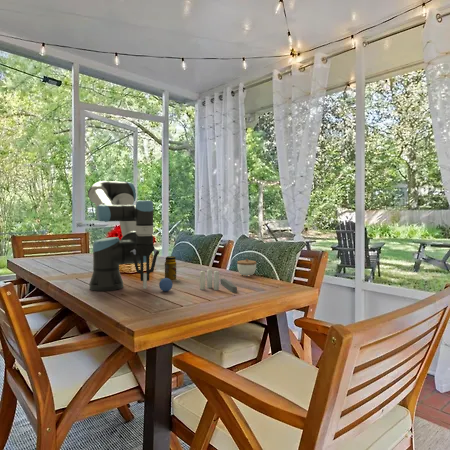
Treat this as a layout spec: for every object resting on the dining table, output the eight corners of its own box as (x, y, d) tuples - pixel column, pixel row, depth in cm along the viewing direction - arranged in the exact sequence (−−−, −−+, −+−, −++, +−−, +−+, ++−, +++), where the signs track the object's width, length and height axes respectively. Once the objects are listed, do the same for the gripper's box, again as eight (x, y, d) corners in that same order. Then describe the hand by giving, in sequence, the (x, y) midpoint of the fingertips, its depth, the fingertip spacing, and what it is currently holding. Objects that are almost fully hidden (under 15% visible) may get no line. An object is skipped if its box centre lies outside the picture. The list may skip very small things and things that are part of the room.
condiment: (179, 280, 196) (179, 257, 196) (164, 281, 192) (164, 258, 191) (173, 277, 203) (173, 255, 202) (158, 279, 198) (158, 256, 197)
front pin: (200, 290, 173) (200, 271, 173) (199, 288, 175) (199, 270, 175) (205, 289, 174) (205, 271, 173) (204, 288, 176) (204, 270, 176)
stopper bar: (232, 292, 168) (232, 287, 168) (220, 283, 187) (220, 278, 187) (236, 292, 169) (236, 287, 169) (224, 283, 188) (224, 278, 188)
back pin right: (214, 290, 172) (214, 272, 172) (213, 289, 175) (213, 271, 174) (219, 290, 173) (219, 271, 173) (218, 289, 175) (218, 271, 175)
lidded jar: (240, 277, 205) (240, 260, 204) (234, 273, 215) (234, 257, 215) (258, 276, 208) (259, 259, 207) (252, 273, 218) (252, 257, 217)
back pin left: (207, 288, 177) (207, 270, 176) (206, 287, 179) (206, 269, 179) (212, 288, 177) (212, 270, 177) (211, 287, 180) (211, 269, 179)
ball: (159, 293, 166) (159, 279, 166) (158, 290, 172) (158, 277, 172) (173, 292, 168) (173, 279, 168) (171, 289, 174) (171, 276, 173)
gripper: (129, 236, 161) (130, 290, 162) (160, 235, 164) (160, 289, 165) (129, 234, 168) (129, 287, 169) (158, 234, 171) (158, 285, 172)
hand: (144, 288), depth 167 cm, fingers closed
